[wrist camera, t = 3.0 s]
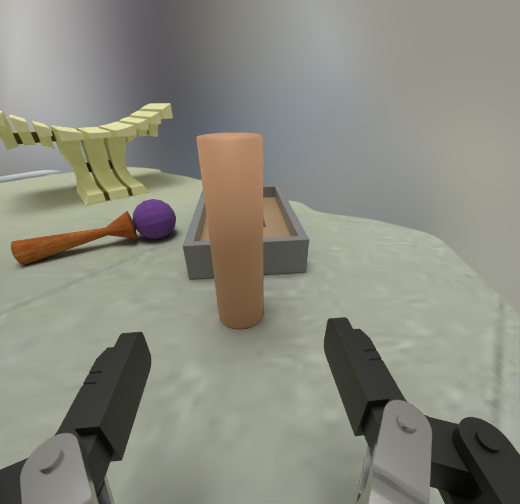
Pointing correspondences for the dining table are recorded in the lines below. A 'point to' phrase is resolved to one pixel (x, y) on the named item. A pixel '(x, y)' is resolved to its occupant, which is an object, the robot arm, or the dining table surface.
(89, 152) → the slatted curved stool
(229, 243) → the peg
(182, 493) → the dining table surface
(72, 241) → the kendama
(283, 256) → the peg box
